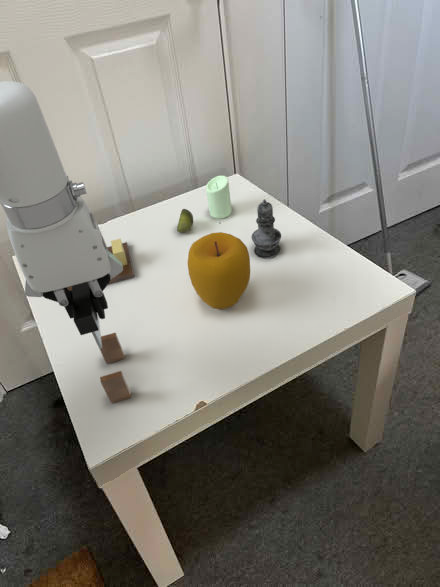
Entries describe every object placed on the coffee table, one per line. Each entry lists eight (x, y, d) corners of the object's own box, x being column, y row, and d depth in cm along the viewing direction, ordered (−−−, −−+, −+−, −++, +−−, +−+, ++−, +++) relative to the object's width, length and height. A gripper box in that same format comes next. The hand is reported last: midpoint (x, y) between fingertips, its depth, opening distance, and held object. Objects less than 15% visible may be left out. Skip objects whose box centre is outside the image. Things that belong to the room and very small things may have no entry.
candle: (216, 221, 102) (211, 189, 96) (206, 211, 105) (201, 179, 100) (235, 213, 103) (232, 181, 98) (225, 203, 107) (221, 172, 101)
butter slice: (117, 267, 93) (113, 253, 90) (115, 254, 96) (110, 240, 93) (127, 264, 93) (123, 251, 90) (124, 251, 96) (120, 238, 94)
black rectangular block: (93, 360, 63) (73, 321, 57) (88, 311, 70) (70, 271, 64) (110, 355, 63) (92, 315, 57) (104, 307, 70) (87, 267, 65)
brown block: (111, 403, 70) (100, 382, 66) (105, 359, 77) (95, 337, 73) (131, 397, 71) (122, 375, 67) (124, 354, 77) (115, 332, 73)
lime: (180, 238, 99) (176, 219, 95) (172, 227, 102) (167, 208, 99) (198, 231, 100) (195, 212, 96) (190, 220, 103) (186, 201, 100)
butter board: (64, 295, 90) (62, 292, 89) (63, 262, 97) (61, 258, 97) (134, 277, 91) (133, 273, 91) (127, 245, 99) (126, 242, 98)
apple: (265, 303, 82) (261, 247, 73) (211, 329, 79) (201, 273, 70) (234, 270, 89) (228, 215, 80) (185, 292, 86) (172, 238, 77)
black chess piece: (247, 247, 94) (243, 197, 86) (272, 237, 95) (270, 187, 87) (261, 263, 90) (257, 212, 82) (287, 252, 91) (286, 201, 83)
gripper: (108, 170, 55) (143, 283, 68) (-30, 203, 53) (33, 312, 66) (114, 202, 49) (151, 317, 62) (-38, 240, 48) (32, 351, 60)
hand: (90, 314), depth 64 cm, fingers closed on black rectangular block, 2 cm apart
